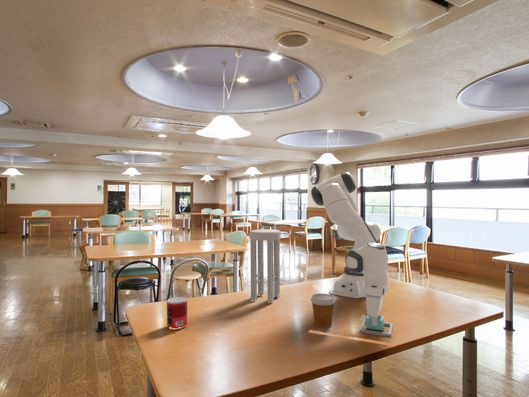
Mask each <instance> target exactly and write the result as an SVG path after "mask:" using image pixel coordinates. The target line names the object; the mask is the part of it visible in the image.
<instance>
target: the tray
mask: <svg viewBox="0 0 529 397" xmlns="http://www.w3.org/2000/svg"><path fill="white" fill-rule="evenodd" d="M393 326H394V325H393V323H392V322H391V323H390V322H385V321H384V327H389V330H388V332H385V331H383V332H382V331H379V330H373V329H366V328H365V329H364V327H366V320H363V321H361V325H360V327H359V333H362V334H368V335H376V336H381V337H386V338H387V337H389V338H391V337H392V333H393Z"/></svg>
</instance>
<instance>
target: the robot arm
mask: <svg viewBox="0 0 529 397" xmlns="http://www.w3.org/2000/svg"><path fill="white" fill-rule="evenodd" d="M356 188H357V182H356V178H355V176H353V175H352V174H351V173H350V172H348V171H344V172H341V173H339V174H337V175H334V176H331V177H329V178H327V179H326V180H324V181H322V182H320V183H319V184H318V185H317V184H316V185H315V186H313V187H311V190H310V194H311V195H310V196H311V199H312V201H313V202H314V203H315V204H316V206H320V207H322V206H323V207H324V209H325V213H326V214H327V217H328V219H329V220H330V221H331V223H333V224H334V225H335V226H336V227H337V228H336V233H337V235H338V237H339V238H341V239H344V240H347V241H354V245H353V247H352V248H351V249H349V250H348V252H347V253H345V259H344V260H345V261H344V263H345V266H344V267H343V273H342V274H341V275H340V276H338V277H337V278H336V279H335V280H334V281H333V285H332V287H330V288H329V290H328V292H329V293H328V294H329V295H333V296H334V295H335V296H340V297H347V298H352V299H360V298H365V303H366V309H367V314H368V317H371V318H372V325H373V326H377V318H378V316H379V315H380V312H381V310H382V306H383V302H384V296H385V294H386V293H388V292H389V278H388V273H387V272H388V269H389V257H388V251H387V249H386V247H385V245H383V244H381V243H379V242H378V240H379V239H380V238H381V234H382V233H381V232H382V231H381V228H380V226H379V224H377V223H375V222H372V221H366V220H365V219H364V218H363V217H362V216H361V215H360V214H359V208H358V205H357V203H356V202H355V200H354V198H353V196H352V193H353V192H354V191H355V190H356Z"/></svg>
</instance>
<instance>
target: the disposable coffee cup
mask: <svg viewBox="0 0 529 397" xmlns="http://www.w3.org/2000/svg"><path fill="white" fill-rule="evenodd" d="M310 300H311V302H312V303H311V304H312V312H313V320H314V325H315V326H316V327H318V328H330V327H331V326H332V322H333V314H334V305H335V302H336V299H335V297H334V295H333V294H330V293H315V294H313V295H312V296H311V298H310Z"/></svg>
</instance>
